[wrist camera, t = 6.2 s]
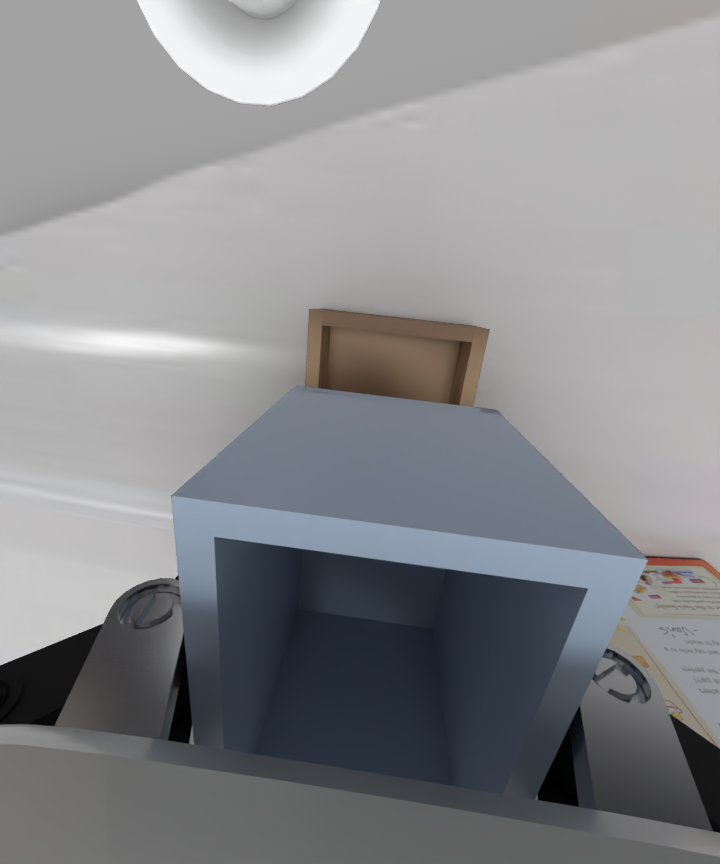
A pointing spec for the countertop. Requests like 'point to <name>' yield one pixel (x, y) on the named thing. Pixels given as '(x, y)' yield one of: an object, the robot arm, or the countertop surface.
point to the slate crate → (394, 592)
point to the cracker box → (678, 638)
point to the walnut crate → (394, 356)
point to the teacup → (260, 43)
